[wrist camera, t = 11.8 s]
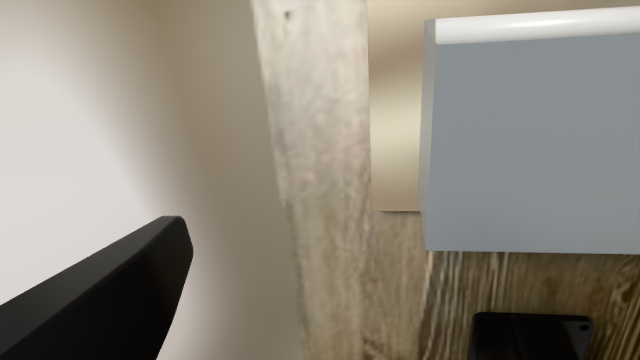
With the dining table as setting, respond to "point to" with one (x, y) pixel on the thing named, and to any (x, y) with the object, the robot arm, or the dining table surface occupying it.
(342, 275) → the dining table surface
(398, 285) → the dining table surface
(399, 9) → the board
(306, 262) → the dining table surface
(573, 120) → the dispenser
